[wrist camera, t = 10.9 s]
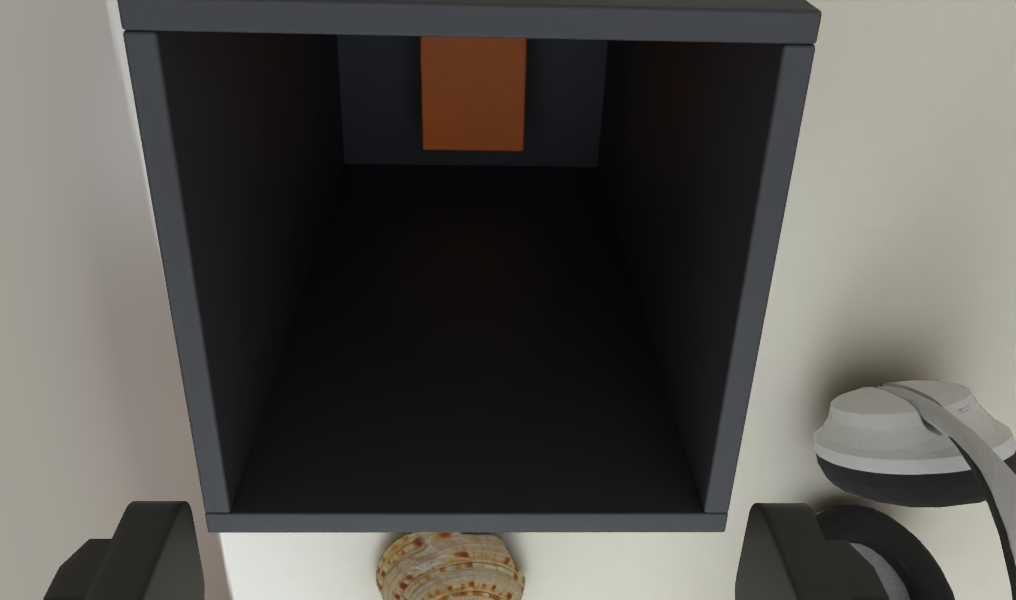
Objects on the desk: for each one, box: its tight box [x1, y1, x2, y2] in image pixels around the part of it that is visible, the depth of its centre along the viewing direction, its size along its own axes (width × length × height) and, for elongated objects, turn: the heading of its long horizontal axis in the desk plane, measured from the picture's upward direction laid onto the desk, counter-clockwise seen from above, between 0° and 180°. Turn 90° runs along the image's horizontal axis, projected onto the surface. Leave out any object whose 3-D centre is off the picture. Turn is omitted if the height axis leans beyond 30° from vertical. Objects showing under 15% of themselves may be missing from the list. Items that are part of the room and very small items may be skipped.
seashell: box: [376, 532, 525, 600], centre depth 53 cm, size 8×6×8 cm
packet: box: [420, 36, 527, 151], centre depth 37 cm, size 7×4×4 cm, turn 179°
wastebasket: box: [117, 0, 821, 532], centre depth 29 cm, size 12×12×23 cm
